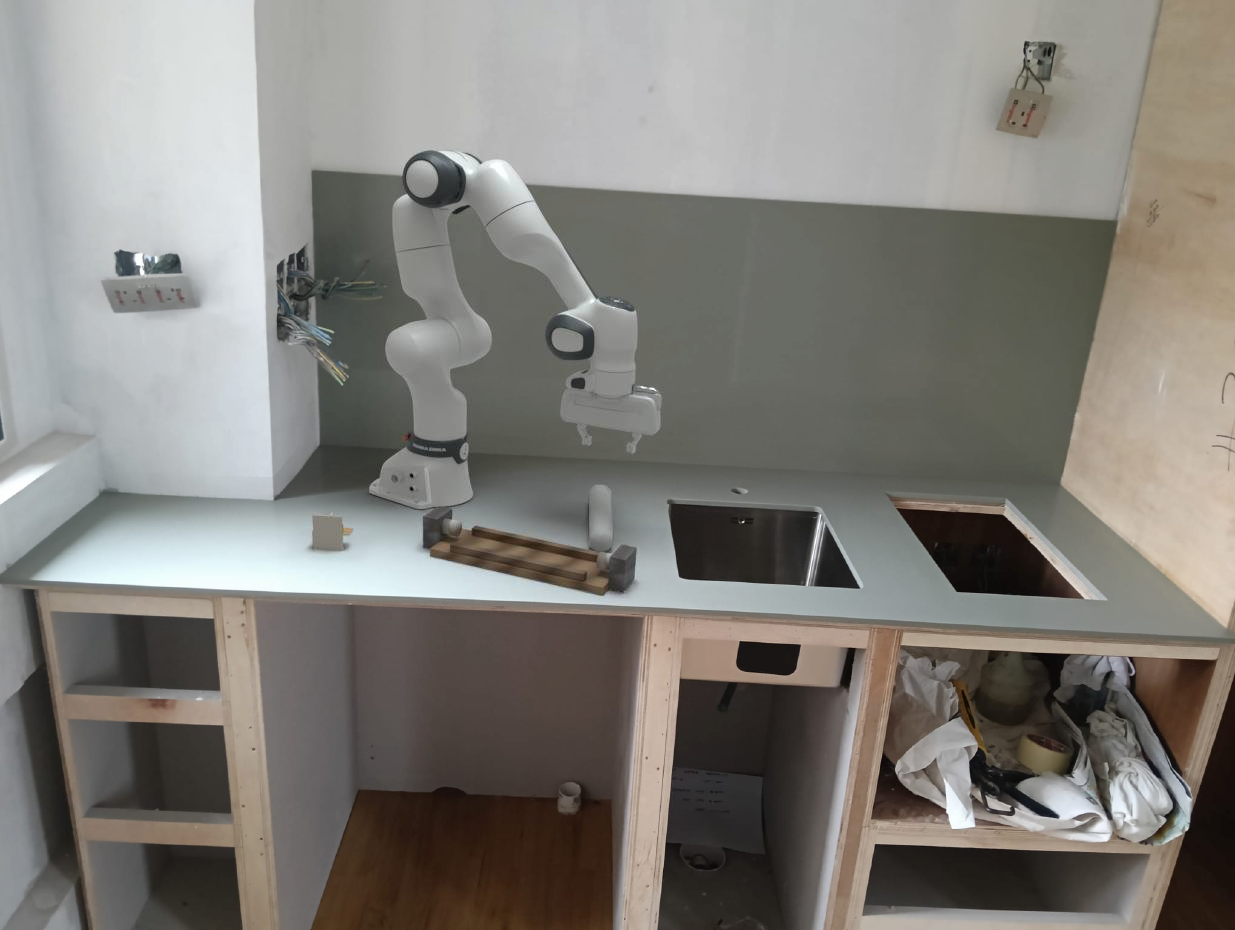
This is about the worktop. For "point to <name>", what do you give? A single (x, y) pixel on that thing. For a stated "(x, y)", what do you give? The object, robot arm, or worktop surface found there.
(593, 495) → the tube
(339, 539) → the architectural model
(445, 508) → the shaft bed
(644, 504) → the worktop surface
